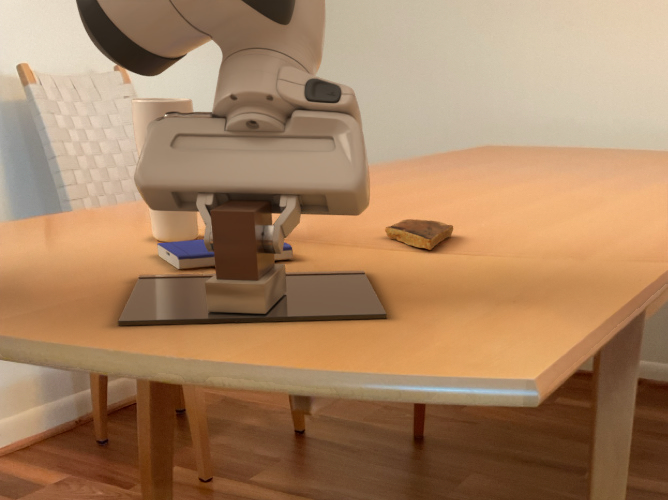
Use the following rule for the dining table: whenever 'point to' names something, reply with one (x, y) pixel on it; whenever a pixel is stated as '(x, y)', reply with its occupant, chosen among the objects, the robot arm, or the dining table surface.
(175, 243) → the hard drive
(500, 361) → the dining table surface
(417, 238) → the shard
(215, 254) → the brown block with base
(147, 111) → the white cup
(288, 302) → the slate
